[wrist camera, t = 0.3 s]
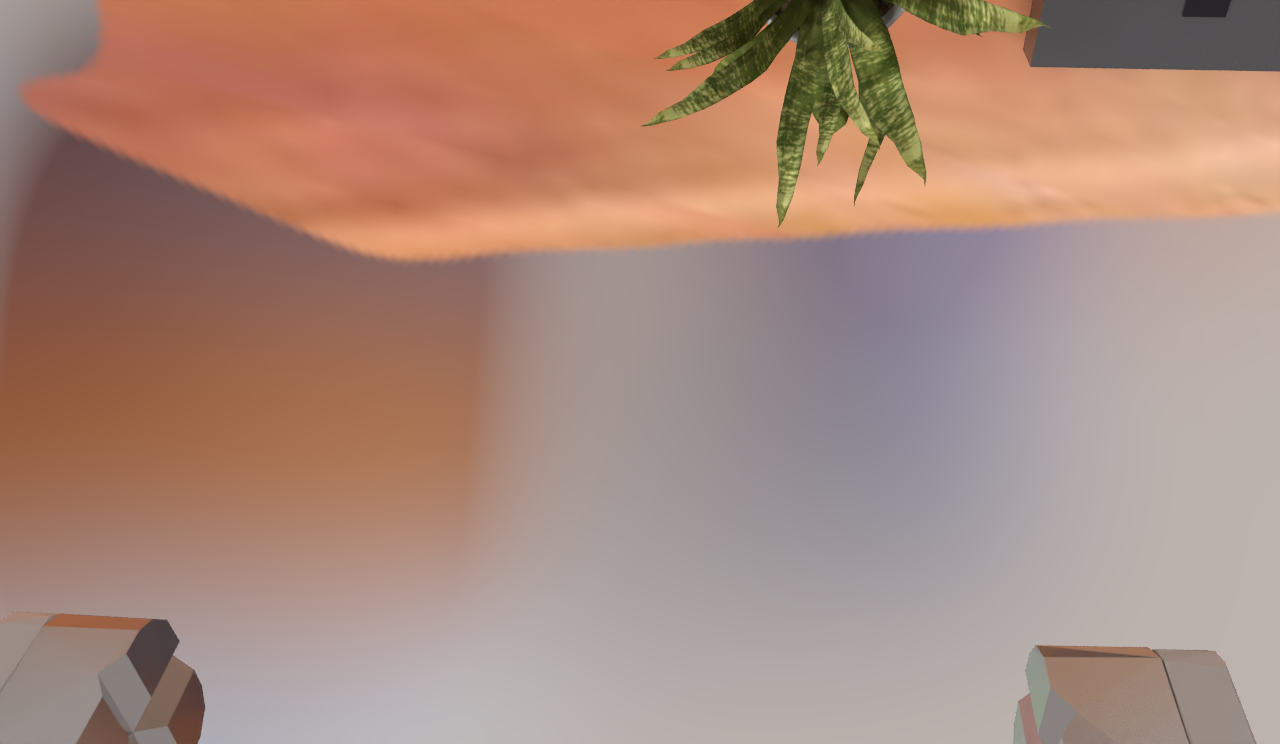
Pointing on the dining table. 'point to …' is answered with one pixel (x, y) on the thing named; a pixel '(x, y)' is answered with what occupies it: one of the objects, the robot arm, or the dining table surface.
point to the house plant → (828, 70)
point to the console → (1156, 34)
